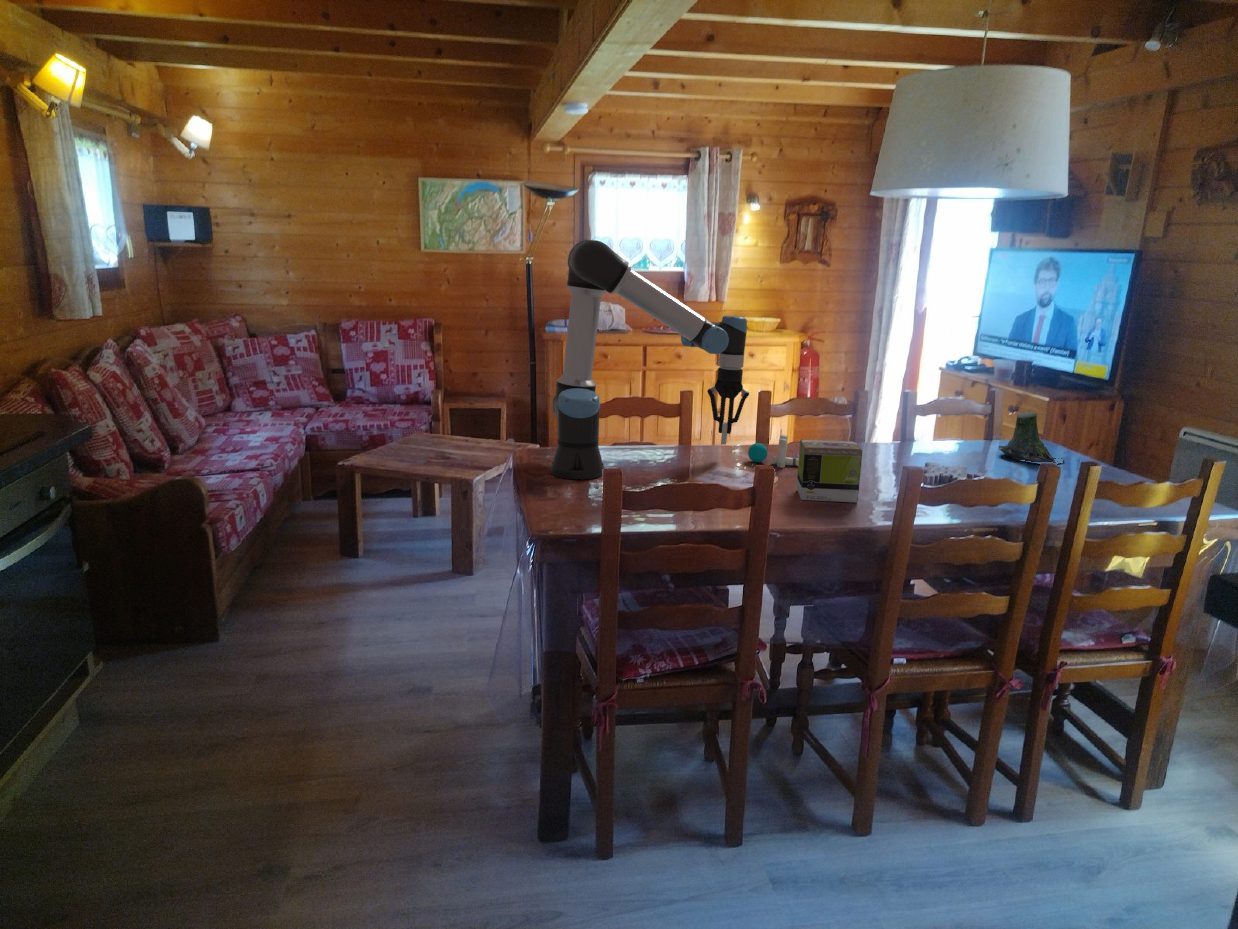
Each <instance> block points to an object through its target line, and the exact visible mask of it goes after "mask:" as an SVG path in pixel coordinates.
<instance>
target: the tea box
mask: <svg viewBox="0 0 1238 929" xmlns="http://www.w3.org/2000/svg"><path fill="white" fill-rule="evenodd" d="M798 458H799V465H798V466H797V467H798V468H797V476H796V478H797V480H796V490H797V492H798V496H799V497H800V500H801V501H802V500H803V501H815V502H816V501H818V502H821V501H822V502H838V503H839V502H842V503H855V504H857V503H858V502H859V493H860V492H859V491H860V484H861V482H860V481H861V469H862V459H863V449H862V448H861V447H860V446H859V445H858V443H857V442H856V441H853V440H851V441H848V440H847V441H846V440H825V439H800V441H799V454H798Z"/></svg>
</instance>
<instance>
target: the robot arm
mask: <svg viewBox="0 0 1238 929" xmlns="http://www.w3.org/2000/svg"><path fill="white" fill-rule="evenodd" d="M567 267H568V274H567V282H566V284H567V285H566V287H567V289H569V291H570V293H571V294H570V296H571V297H570V304H569V305H570V306H569V314H568V322H567V323H568V324H567V330H566V331H567V334H566V342H565V352H564V362H563V371H562V372H563V373H562V375H561V376H560V377H558V378H557V380H556V389H555V395H554V398H553V401H552V408H553V409H552V410H553V412H554V414H555V417H556V419H557V446H556V451H555V454H554V457H553V461H552V462H551V466H550V467H551V468H550V472H551V474H552V475H553V476H555V477H556V478H557V477H558V478H561V479H568V480H577V479H581V480H591V479H592V480H593V479H596V478H600V477H602V476H603V475H602V469H604V470H605V466H604V465H605V464H604V463H603V460H602V459H603V458H602V455H601V452H600V448H599V439H600V438H599V437H600V436H599V435H600V434H599V432H600V409H601V402H600V396H599V395H598V393H597V392H596V389H597V388H596V387H597V384H596V382H595V380H593V370H594V369H593V368H594V361H595V353H596V352H595V351H596V343H597V335H598V326H599V318H600V308H601V300H602V296H604V294H605V293H609V294H610V295H611V294H617V295H619V296H620V297H622V298H623V299H625V300H626V301H628V302H629V303H631V304H632V305H634V306H636V307H637V308H638V309H640V310H641V311H643V312H645V313H646V314H648V315H649V316H651V317H652V318H654V319H655V320H658V321H659V322H660V323H662V324H663V325H664V326H665V325H666V327H669V329H671V330H673V331H674V332H676V333H678V334H679V335H680V341H681V344H682V346H684V347H688V348H689V347H690V348H699V349H701V350H703V351H705V352H706V353H708V354H710V355H718V364H717V365H718V366H719V367H718V368H717V375H716V382H715V383H714V386H712V387H709V388H708V389H707V394H708V396H709V397H710V403H711V404H710V406H711V410H712V417H713V418H712V419H713V420H714V421H716V422H718V433H719V434H721V438H720V445H724V446H725V445H727V443H728V435H730V434H731V433H732V427H733V425H732V424H734V423H737V422H738V421H739V419H740V416H741V413H742V410H743V407H744V405H745V403H746V402H745V401H746V400H747V398H748V397H749V396H750V392H749V391H747V390H745V389H744V386H743V384H742V382H743V375H744V374H743V373H744V370H743V369H742V368H743V367H744V361H745V350H746V340H747V334H748V331H747V328H748V321H747V318H746V317H745V316H739V315H723V316H722V317H721V318H722V319H721V321H718V322H711V320H708V319H706V318H705V317H704V316H703V315H701V314H699V313H698V312H697V311H695V310H694V309H692V308H690V307H689V306H688V305H686V304H684V303H683V302H681V301H680V300H679V299H677V298H676V297H674V296H672V295H671V294H670V293H668V292H666V291H665V290H663V288H660V287H659V286H658V285H656V284H655V283H653V282H652V281H650V280H649V279H647V278H645V277H644V276H643V275H641V274H640V273H638V272H636V271H635V270H633V269H632V268H631V263H629V262H628V261H627V260H625V259H624V258H623V257H622V256H620V255H619V254H618V253H616V252H615V251H614V250H613V249H612V248H611V247H610V246H608V245H607V244H606V243H604V242H603V241H601V240H600V241H599V240H595V239H585V240H582V241H579V242H578V243H576V244H575V245H574V246H573V247H572V248H571V250H570V251H569V253H568V257H567ZM716 393H717V394H718V395H719V396H720V408H719V413H718V404H717V398H716ZM740 393H741V394H740ZM739 394H740V397H741V398H740V401H739V404H738V406H737V409H736V412H735V416H734V407H735V406H734V405H735V398H737V396H738V395H739ZM727 399H729V403H728V413H727V421H725V413H726V411H725V410H726V401H727ZM733 416H734V417H733Z"/></svg>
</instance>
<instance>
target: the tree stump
mask: <svg viewBox="0 0 1238 929" xmlns="http://www.w3.org/2000/svg"><path fill="white" fill-rule="evenodd" d="M998 450H999V451H1000V452H1002V453H1003V455H1004V456H1006V455H1007V456H1006V457H1008V456H1009V457H1008V458H1010V457H1012V458H1011V459H1013V458H1014V459H1013V460H1015V459H1017V460H1025V461H1031V462H1053V463H1056V462H1055V460H1054V459H1056V458H1053V457H1052V456H1051V455H1052V454H1051V453H1050V452H1049V450H1048V448H1047V447H1046V446H1045V443H1043V441H1042V440H1041V439H1040V437H1039V428H1038V412H1036V411H1035V412H1034V411H1026V412H1021V413H1019V414H1017V415H1016V422H1015V426H1014V431H1013V436H1012V438H1010V440H1009V441H1008V443H1007V444H1006V445H998ZM1050 454H1051V455H1050ZM1058 459H1059V458H1058ZM1061 459H1063V457H1062V458H1061ZM1017 460H1016V461H1017ZM1057 462H1058V461H1057ZM1058 465H1060V464H1059V463H1058Z"/></svg>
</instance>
